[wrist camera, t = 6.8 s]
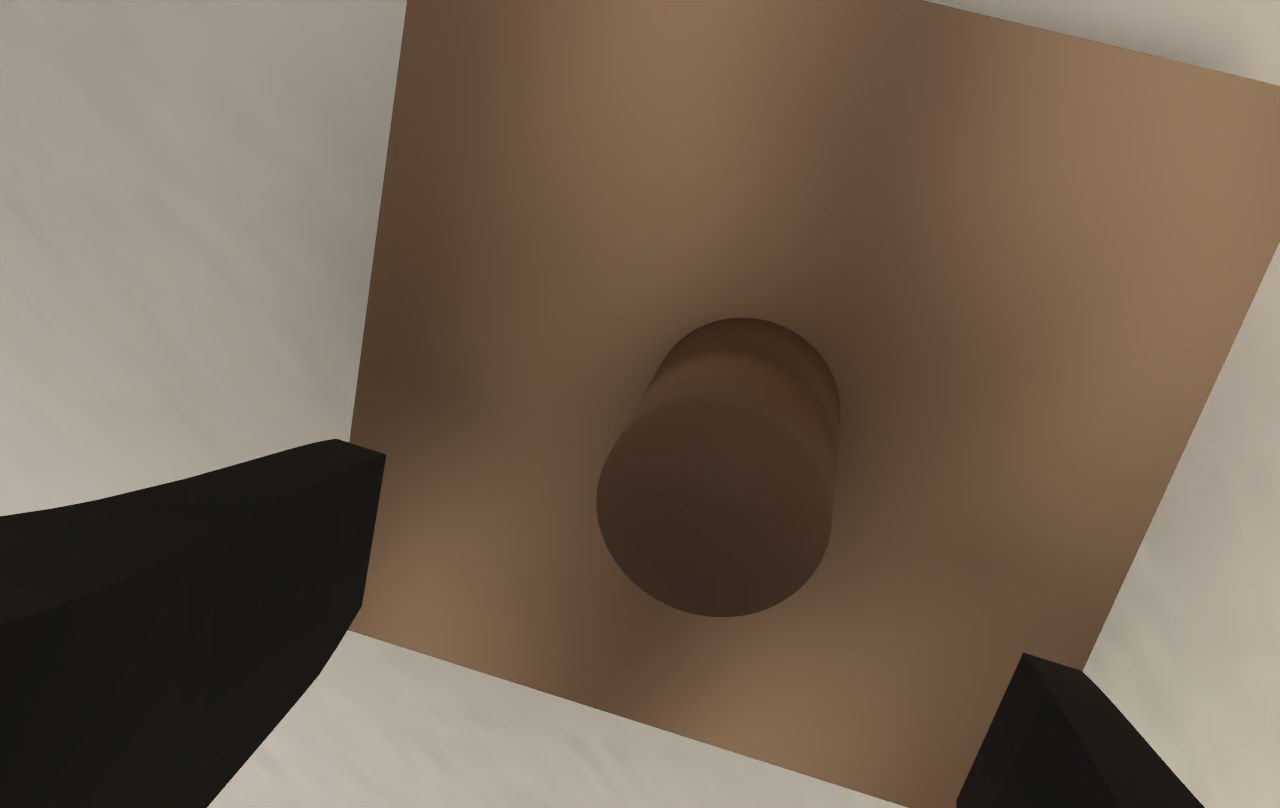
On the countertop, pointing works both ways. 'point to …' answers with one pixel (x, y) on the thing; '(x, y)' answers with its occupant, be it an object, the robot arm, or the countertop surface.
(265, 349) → the countertop surface
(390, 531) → the lid
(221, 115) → the countertop surface
